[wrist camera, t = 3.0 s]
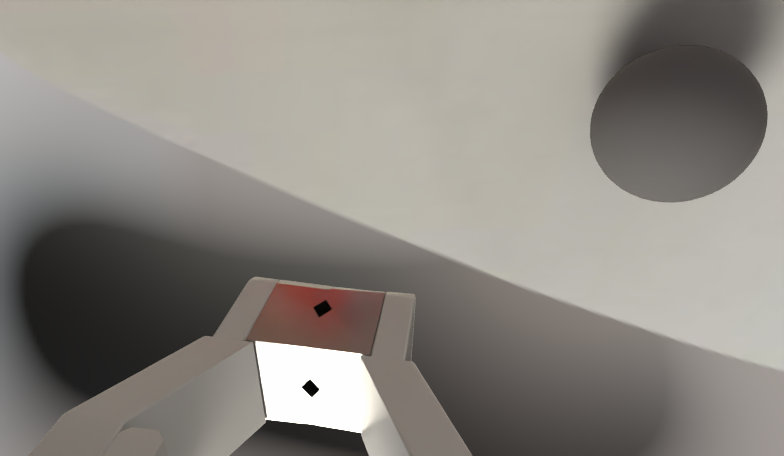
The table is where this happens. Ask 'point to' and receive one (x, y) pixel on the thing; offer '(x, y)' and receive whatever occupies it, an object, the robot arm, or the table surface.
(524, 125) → the table surface
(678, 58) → the grey sphere
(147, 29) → the table surface
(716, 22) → the table surface
